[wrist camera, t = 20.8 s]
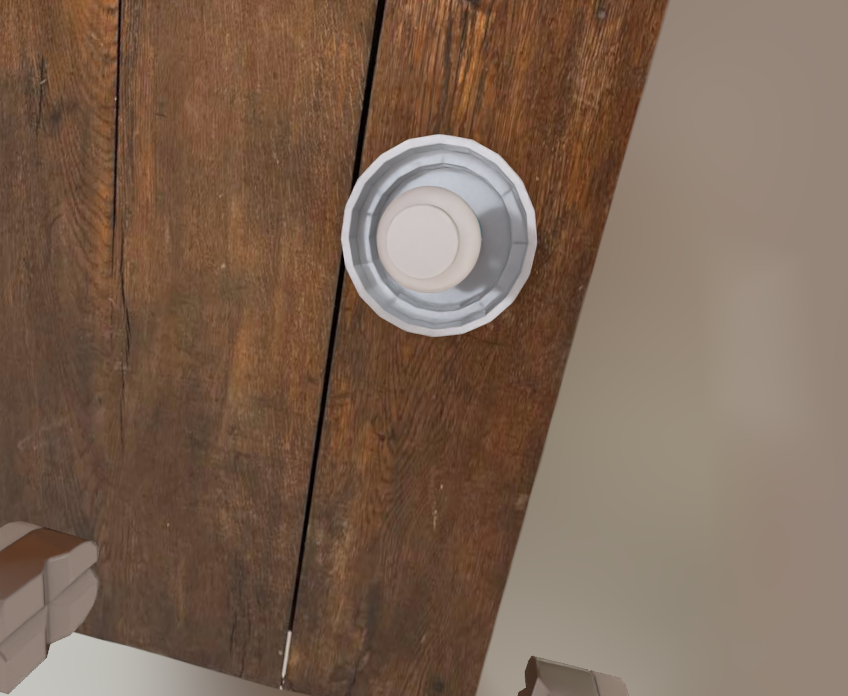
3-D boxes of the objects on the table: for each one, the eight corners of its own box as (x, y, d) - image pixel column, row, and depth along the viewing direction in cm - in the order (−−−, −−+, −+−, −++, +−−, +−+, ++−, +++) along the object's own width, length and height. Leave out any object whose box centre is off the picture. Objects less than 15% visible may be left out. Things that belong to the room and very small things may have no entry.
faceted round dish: (549, 164, 40) (559, 154, 35) (507, 339, 44) (510, 353, 39) (373, 133, 41) (356, 118, 36) (348, 305, 45) (330, 315, 40)
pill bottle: (398, 197, 42) (359, 181, 29) (481, 193, 41) (479, 174, 28) (403, 281, 44) (368, 301, 30) (483, 278, 42) (481, 298, 29)
